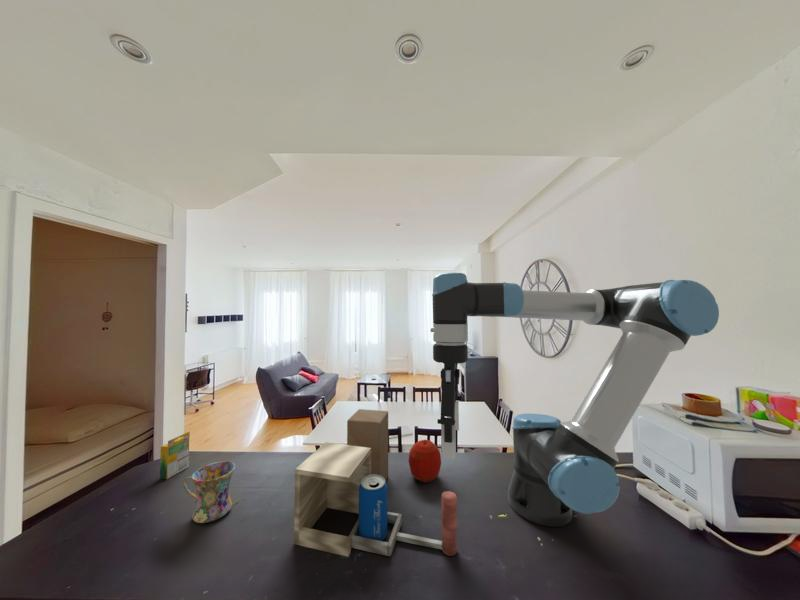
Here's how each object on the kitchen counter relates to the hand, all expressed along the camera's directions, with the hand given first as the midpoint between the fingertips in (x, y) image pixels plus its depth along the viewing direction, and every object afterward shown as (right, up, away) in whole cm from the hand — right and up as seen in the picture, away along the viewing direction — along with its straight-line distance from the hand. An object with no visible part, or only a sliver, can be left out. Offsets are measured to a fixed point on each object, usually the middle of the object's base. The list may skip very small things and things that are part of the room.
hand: (451, 441), depth 60 cm
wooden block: (-21, -24, +23) cm, 39 cm away
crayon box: (-83, -25, +28) cm, 91 cm away
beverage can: (-17, -23, +3) cm, 29 cm away
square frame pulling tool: (-10, -23, +1) cm, 25 cm away
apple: (-3, -24, +25) cm, 35 cm away
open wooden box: (-27, -23, +6) cm, 36 cm away
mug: (-60, -24, +10) cm, 65 cm away
